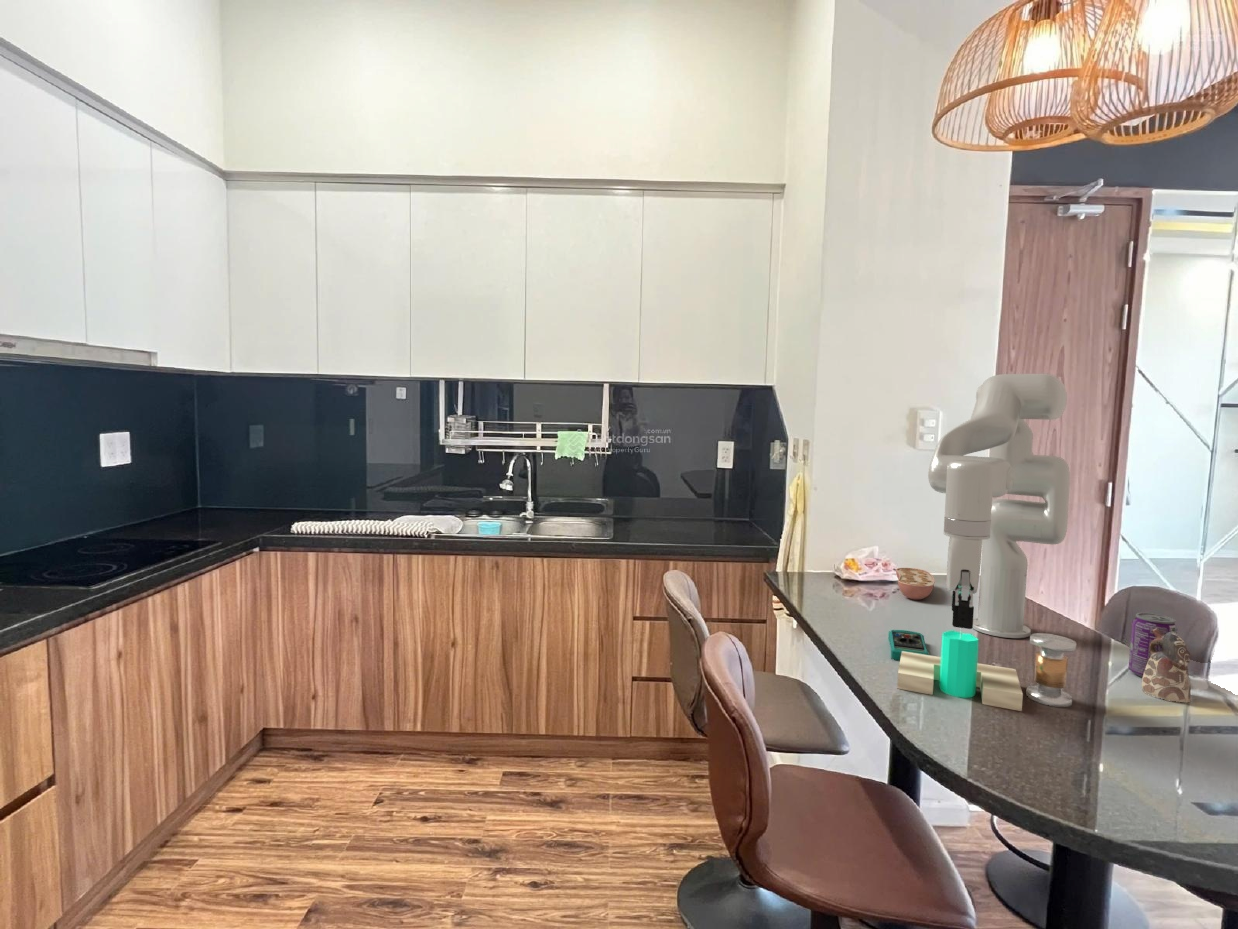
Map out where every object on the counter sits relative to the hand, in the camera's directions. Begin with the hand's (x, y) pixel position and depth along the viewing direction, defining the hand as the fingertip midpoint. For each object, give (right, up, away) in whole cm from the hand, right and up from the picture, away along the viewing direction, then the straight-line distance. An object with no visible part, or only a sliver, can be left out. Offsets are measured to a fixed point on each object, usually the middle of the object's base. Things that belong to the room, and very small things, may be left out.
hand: (961, 619), depth 123 cm
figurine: (+39, -15, +1) cm, 41 cm away
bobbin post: (+15, -14, -2) cm, 20 cm away
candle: (0, -14, +1) cm, 14 cm away
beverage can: (+43, -14, +10) cm, 46 cm away
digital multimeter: (-1, -13, +22) cm, 25 cm away
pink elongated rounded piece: (+23, -9, +70) cm, 75 cm away
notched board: (+1, -13, +3) cm, 14 cm away
